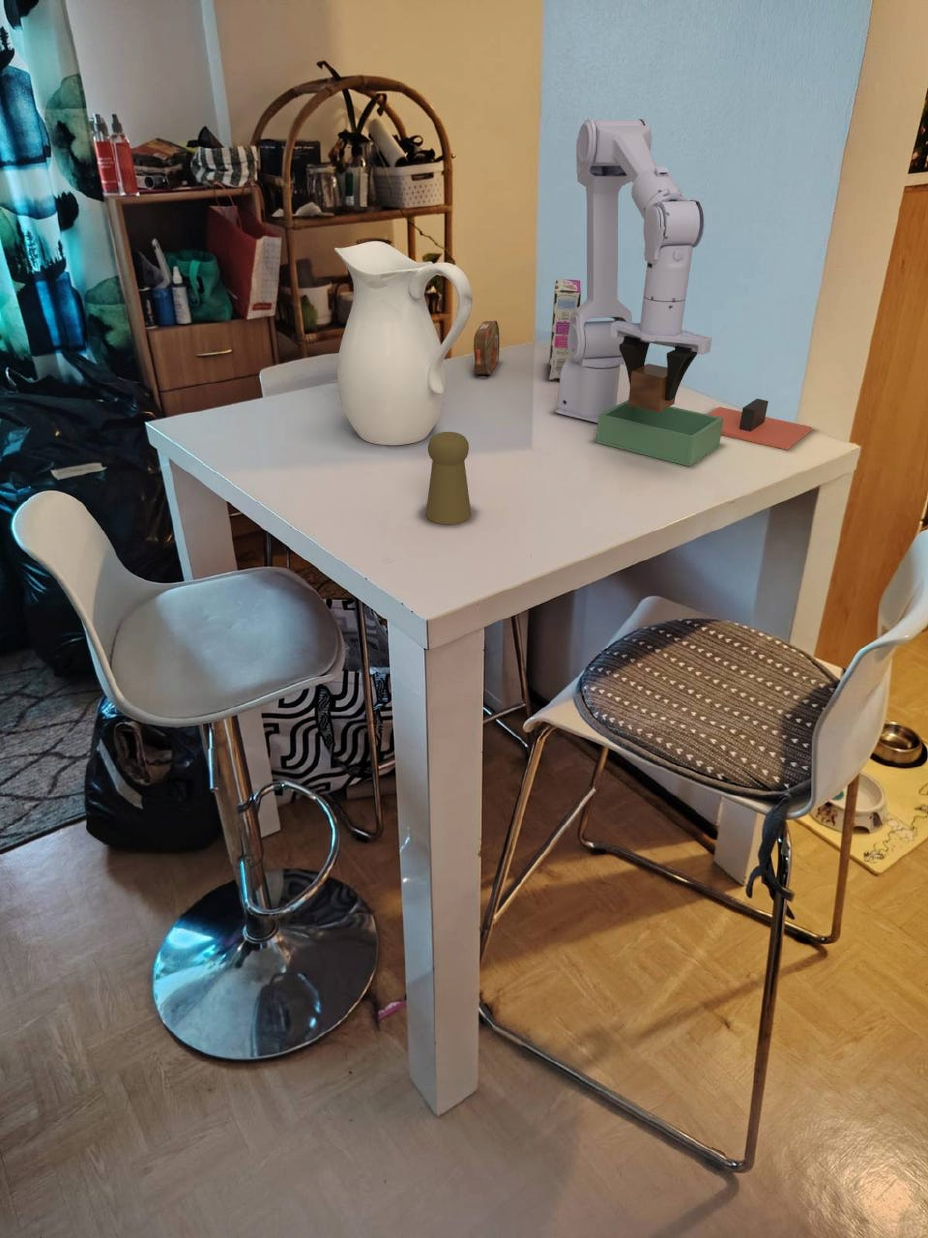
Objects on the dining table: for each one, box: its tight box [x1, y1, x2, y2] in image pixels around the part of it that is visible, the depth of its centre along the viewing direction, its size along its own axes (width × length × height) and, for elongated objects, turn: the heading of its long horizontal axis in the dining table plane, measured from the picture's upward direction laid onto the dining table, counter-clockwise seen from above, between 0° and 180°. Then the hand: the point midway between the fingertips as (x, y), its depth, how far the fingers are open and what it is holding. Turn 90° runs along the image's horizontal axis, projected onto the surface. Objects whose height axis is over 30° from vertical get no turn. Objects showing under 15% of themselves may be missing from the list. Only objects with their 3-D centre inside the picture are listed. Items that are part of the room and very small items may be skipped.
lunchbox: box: [595, 399, 724, 467], centre depth 140 cm, size 16×11×4 cm
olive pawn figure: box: [425, 431, 472, 525], centre depth 115 cm, size 6×6×11 cm
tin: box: [473, 320, 500, 376], centre depth 172 cm, size 15×3×8 cm, turn 168°
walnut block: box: [627, 363, 676, 412], centre depth 128 cm, size 5×5×5 cm
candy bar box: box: [548, 278, 582, 382], centre depth 168 cm, size 11×5×16 cm, turn 174°
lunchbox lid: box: [706, 398, 813, 451], centre depth 146 cm, size 16×11×4 cm
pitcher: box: [333, 240, 473, 446], centre depth 134 cm, size 24×17×28 cm
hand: (652, 394), depth 129 cm, fingers closed on walnut block, 5 cm apart
